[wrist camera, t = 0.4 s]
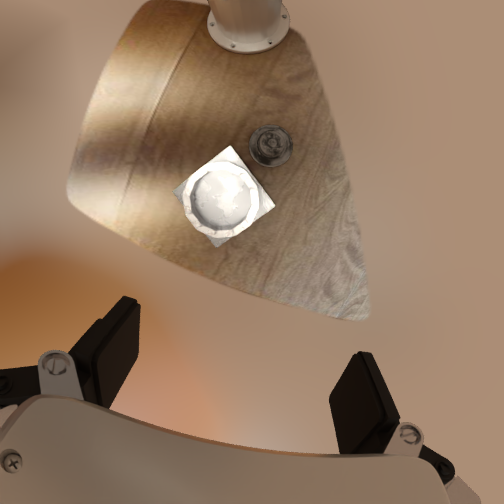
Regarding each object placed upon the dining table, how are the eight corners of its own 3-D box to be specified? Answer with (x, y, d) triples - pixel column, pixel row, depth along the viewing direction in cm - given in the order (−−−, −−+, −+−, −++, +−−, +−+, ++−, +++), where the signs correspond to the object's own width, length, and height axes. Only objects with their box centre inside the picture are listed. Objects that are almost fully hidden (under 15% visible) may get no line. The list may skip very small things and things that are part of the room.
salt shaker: (287, 125, 38) (296, 112, 27) (292, 164, 40) (303, 166, 29) (247, 130, 39) (240, 119, 27) (253, 168, 40) (248, 172, 29)
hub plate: (174, 190, 42) (166, 193, 38) (231, 145, 39) (228, 144, 36) (217, 245, 44) (213, 253, 41) (275, 204, 42) (276, 209, 39)
